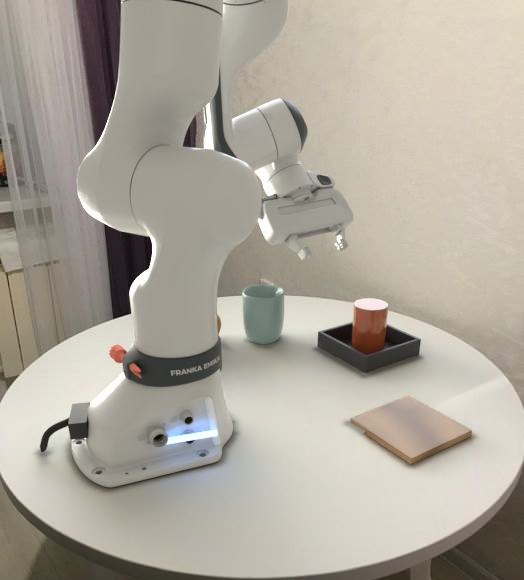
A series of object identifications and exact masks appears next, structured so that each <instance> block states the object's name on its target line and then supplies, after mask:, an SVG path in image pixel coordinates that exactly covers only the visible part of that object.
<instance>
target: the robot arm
mask: <svg viewBox="0 0 524 580" xmlns="http://www.w3.org/2000/svg"><path fill="white" fill-rule="evenodd" d="M289 10H290V0H120V33H119V57H118V58H119V59H118V75H117V83H116V89H115V94H114V97H113V98H114V99H113V102H112V106H111V110H110V113H109V116H108V118H107V122H106V124H105V127H104V130H103V131H102V134H101V136H100V138H99V139H98V141H97V143H96V145H95V146H94V147H93V148H92V150H91V151H89V152H88V153H87V154H86V155H85V157H84V158H83V159H82V161H81V163H80V165H79V167H78V171H77V175H76V191H77V195H78V199H79V202H80V203H81V206H82V207H83V209H84V210H85V211H86V213H88V214H89V215H90V216H91V217H93V218H94V219H95V220H97V221H99V222H101V223H103V224H105V225H107V226H108V227H110V228H112V229H115V230H116V231H118V232H124V233H128V234H133V235H138V236H143V237H148V238H150V240H151V244H152V254H151V260H150V263H149V264H150V265H149V268H148V269H147V270H144V271H143V272H142V273H141V274H140V275H139V276H137V277H136V278H135V280H134V281H133V282H132V284H131V286H130V289H129V295H128V296H129V303H130V312H131V314H130V315H131V322H132V332H133V341H132V344H131V346H130V348H129V349H128V350H126V349H125V348H124V347H123V346H122V345H120V344H115V345H112V346H111V347H110V349H109V353H108V355H109V357H110V358H111V359H113V361H114V362H115V363H117V364H122V372H121V373H120V374H119V375H118V376H117V377H116V378H115V379H114V380H113V381H111V383H110V384H108V385H107V387H106V388H105V389H103V390H102V391H101V392H100V393H99V394H98V395H97V396H96V397H94V399H93V400H91V402H89V401H88V402H77V403H72V404H71V409H70V413H69V417H67V418H66V419H63V420H60V421H58V422H56V423H54V424H52V425H50V426H48V427H47V429H46V430H45V431H44V433H43V434H42V436H41V440H40V444H39V449H40V453H44V452H46V450H47V448H48V445H49V441H50V438H51V436H52V435H54V434H55V433H56V432H58V431H59V430H63V429H65V428H68V434H69V437H70V438H69V439H70V440H71V454H72V458H73V460H74V462H75V464H76V466H77V467H78V469H79V470H80V471H81V473H82V474H83V475H84V476H85V477H86V478H87V479H89V480H90V481H91V482H92V483H94V484H97V485H99V486H102V487H105V488H115V487H120V486H124V485H128V484H132V483H137V482H140V481H145V480H149V479H152V478H157V477H161V476H165V475H171V474H173V473H174V474H175V473H178V472H181V471H186V470H190V469H195V468H198V467H202V466H207V465H210V464H214V463H215V464H216V462H219V461H220V460H221V458H222V455H223V448H224V446H225V445H226V443H227V442H228V441H229V440H230V439H231V437H232V435H233V433H234V432H233V431H234V423H233V420H232V418H231V416H230V413H229V410H228V406H227V403H226V398H225V393H224V388H223V387H224V386H223V381H222V373H221V372H222V371H223V351H222V350H223V349H222V348H223V347H222V339H221V336H220V334H219V335H218V330H217V314H218V289H219V288H218V287H219V283H220V282H219V281H220V278H221V277H220V276H221V273H222V269H223V268H224V265H225V263H226V261H227V259H228V257H229V255H230V254H231V253H232V252H233V250H234V249H235V248H236V247H237V246H239V245H240V244H242V242H244V241H245V240H247V238H248V237H249V236H250V235H251V234H252V232H253V231H254V229H255V227H256V226H257V224H258V225H259V228H260V230H261V233H262V235H263V237H264V239H265V241H266V242H267V243H268V244H270V245H272V246H275V245H279V244H280V245H281V244H286V246H287V247H288V248H289V249H290V250H292V251H293V252H294V253H296V254H297V256H298V257H299V259H300V260H301V261H307V260H309V259H310V257H312V251H311V250H310V248H309V246H304V245H303V244H302V243H301V242H300V241H299V240H302V239H307V238H311V237H316V236H320V235H325V234H329V233H332V236H334V237H336V242H335V243H334V246H335V248H336V250H337V251H338V252H339V251H340V252H341V251H345V250H346V249H347V248H348V247H349V243H348V241H347V239H346V229H347V228H348V227H349V226H350V225H351V224H352V223H353V221H354V212H353V210H352V208H351V207H350V205H349V203H348V201H347V200H346V198H345V196H344V195H343V193H342V192H341V191H340V190H338V189H337V188H335V185H336V181H335V180H334V177H332V176H330V175H327V174H321V173H317V172H314V171H311V170H307V168H306V167H305V165H304V164H303V163H302V162H301V160H300V159H299V154H301V152H302V150H303V148H304V145H305V143H306V140H307V138H308V133H309V131H308V126H307V123H306V120H305V118H304V117H303V115H302V113H301V111H300V109H299V108H298V106H297V105H296V104H294V103H293V102H292V101H290V100H288V99H285V98H282V97H280V98H275V99H273V100H270V101H268V102H265V103H264V104H261V105H259V106H257V107H255V108H253V109H251V110H248V111H246V112H245V113H242V114H240V115H238V116H235V117H233V111H232V89H233V85H234V83H235V81H236V80H237V78H238V77H239V75H240V74H241V73H243V71H244V70H245V69H246V68H247V67H248V66H249V65H250V63H251V62H252V61H254V60H255V59H256V58H257V57H259V56H260V55H261V54H262V53H263V52H264V51H266V50H267V49H268V48H269V47H271V45H273V43H274V42H275V41H277V38H278V37H279V36H280V34H281V33H282V31H283V29H284V27H285V25H286V22H287V20H288V16H289ZM201 110H202V115H203V147H192V146H191V147H190V146H184V142H185V138H186V135H187V132H188V129H189V127H190V125H191V123H192V121H193V119H194V118H195V116H196V115H197V114H198V113H199V112H200V111H201ZM258 178H259V179H260V181H261V184H262V188H263V190H264V192H265V194H266V196H262V190H261V185H260V182H259V179H258Z"/></svg>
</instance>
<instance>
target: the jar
mask: <svg viewBox="0 0 524 580" xmlns="http://www.w3.org/2000/svg"><path fill="white" fill-rule="evenodd" d="M388 314H389V303H388V302H387V301H385V300H383V299H378V298H371V297H370V298H367V297H366V298H359V299H357V300H355V301H354V302H353V310H352V322H353V325H352V341H351V347H352V348H354V349H356V350H358V351H360V352H362V353H364V354H365V355H368V354H371V353H375V352H378V351H381V350H384V349H385V338H386V327H387V324H388Z"/></svg>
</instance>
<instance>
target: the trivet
mask: <svg viewBox="0 0 524 580" xmlns="http://www.w3.org/2000/svg"><path fill="white" fill-rule="evenodd" d="M350 422H351V423H352V424H354V425H355V426H357V427H359V428H360V429H362V430H363V431H364V434H365V435H366V436H367V437H369V438H370V439H372V440H373V441H375V442H376V443H378V444H380V445H381V446H383V447H384V448H385V449H387V450H388V451H390V453H393V454H394V455H396V456H397V457H399V458H400V459H402V460H403V461H405V462H406V463H407V464H409V465H413V464H415V463H417V462H420V461H421V460H424V459H426V458H428V457H430V456H432V455H434V454H436V453H439V452H441V451H443V450H444V449H445V450H446V449H447V448H449V447H452V446H453V445H456V444H458V443H460V442H462V441H464V440H466V439H469V438H470V437H472V434H473V430H472V429H471V428H469V427H467V426H465V425H464V424H461V423H460V422H458V421H456V420H455V419H452V418H451V417H449V416H447V415H446V414H443V413H442V412H440V411H438V410H436V409H435V408H432V407H431V406H429V405H428V404H425V403H424V402H422V401H420V400H418V399H417V398H414V397H413V396H411V395H407V396H404V397H401V398H399V399H397V400H394V401H391V402H389V403H386V404H383V405H381V406H379V407H376V408H373V409H371V410H368V411H365V412H363V413H360V414H357V415H355V416H353V417H351V418H350Z"/></svg>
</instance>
